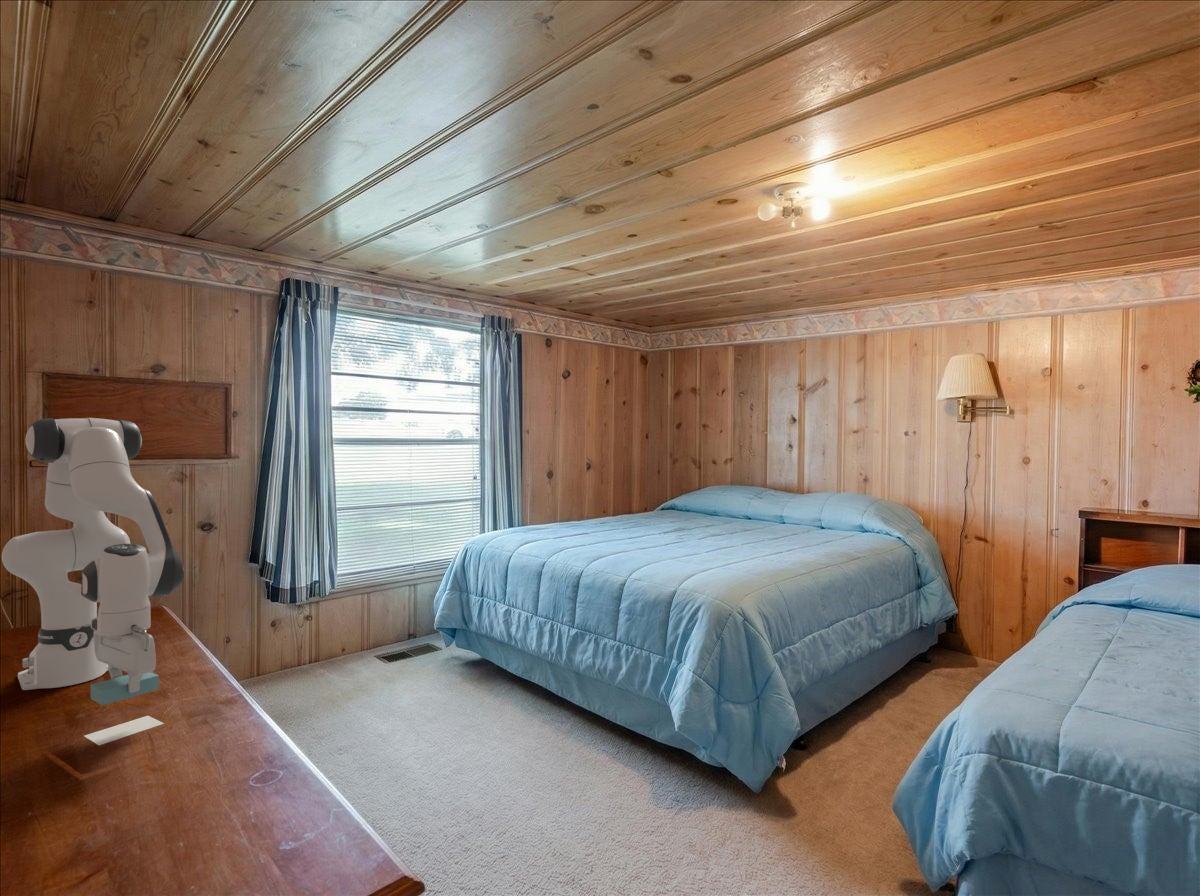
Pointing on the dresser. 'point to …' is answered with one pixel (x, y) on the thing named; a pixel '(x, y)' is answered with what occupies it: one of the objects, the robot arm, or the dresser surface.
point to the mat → (123, 730)
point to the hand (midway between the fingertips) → (125, 688)
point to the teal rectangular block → (122, 688)
